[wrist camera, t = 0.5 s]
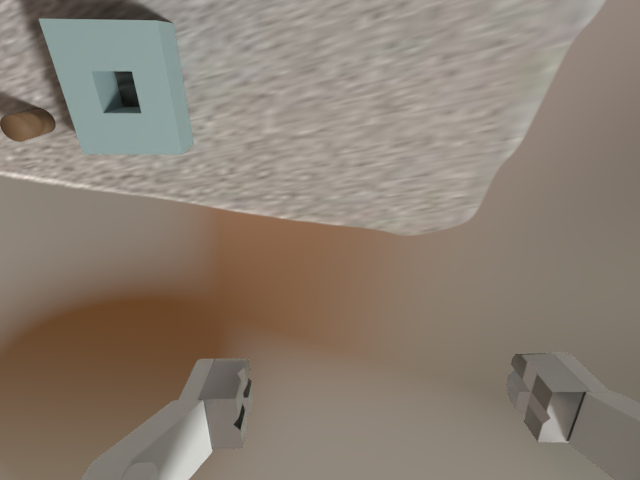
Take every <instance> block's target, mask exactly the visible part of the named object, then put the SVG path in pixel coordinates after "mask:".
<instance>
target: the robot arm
mask: <svg viewBox="0 0 640 480" xmlns="http://www.w3.org/2000/svg"><path fill="white" fill-rule="evenodd" d="M511 365H512V367H513V368H514V371H513V372H512V373H511V374H510V375H508V379H507V392H508V396H509V398H510V401H511V403H512V404H513V406H514V407H515V408H516V409H517V410H518V411H520V412H521V413H523V414H524V415H525V418H524V422H525V424H526V425H527V427H528V428H529V430H530V431H531V433H532V434H533V436H534V437H535V439H536V440H537V442H569V443H568V444H569V445H570V446H572V447H573V448H574V449H576V450H577V451H578V452H580V453H581V454H582V455H583V456H585V457H586V458H587V459H588V460H590V461H591V462H592V463H594V464H595V465H596V466H597V467H599V468H600V469H601V470H603V471H604V472H605V473H606V474H608V475H609V476H610V477H612V478H613V479H614V480H640V404H639V403H637V402H635V401H633V400H631V399H629V398H627V397H625V396H623V395H621V394H619V393H617V392H610V391H609V390H607V389H606V388H605V387H604V386H603V385H602V384H601V383H600V382H599V381H598V380H597V379H596V378H595V377H594V376H593V375H592V374H591V373H590V372H589V371H588V370H587V369H586V368H585V367H584V366H583V365H582V364H580V363H579V362H578V361H577V360H576V359H575V358H574V357H573V356H572V355H571V354H569V353H567V352H551V353H526V354H515V355H514V356H513V358H512V362H511ZM250 370H251V368H250V361H249V360H248V359H199V360H198V361H197V362H196V364H195V366H194V368H193V370H192V372H191V375H190V377H189V379H188V381H187V383H186V385H185V387H184V389H183V392H182V394H181V396H180V398H179V400H178V401H172V402H171V403H169V404H168V405H167V406H166V407H164V408H163V409H162V410H160V411H159V412H158V413H156V414H155V415H154V416H152V417H151V418H150V419H148V420H147V421H146V422H145V423H143V424H142V425H141V426H139V427H138V428H136V429H135V430H134V431H132V432H131V433H130V434H129V435H127V436H126V437H125V438H123V439H122V440H121V441H119V442H118V443H117V444H115V445H114V446H113V447H112V448H110V449H109V450H107V451H106V452H105V453H104V454H102V455H101V456H99V457H98V458H97V459H96V460H94V461H93V462H92V463H91V465H90V466H89V468H88V469H87V471H86V473H85V474H84V476H83V477H82V479H81V480H189V479H190V477H191V476H192V475H193V473H194V472H195V471H196V470H197V469H198V468H199V467H200V466H201V464H202V463H203V462H204V461H205V460H206V458H207V457H208V456H209V455H210V454H211V452H212V450H216V449H235V448H243V444H244V439H245V435H246V430H247V421H246V417H247V416H248V415H249V414H250V412H251V407H252V397H253V387H252V381H251V380H250V379H249V374H250Z"/></svg>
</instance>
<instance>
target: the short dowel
mask: <svg viewBox="0 0 640 480" xmlns="http://www.w3.org/2000/svg"><path fill="white" fill-rule="evenodd" d="M0 126H1V129H2V131H3V132H4V134H5V135H6V136H7V137H9V138H10V139H12V140H14V141H25V140H28V139H31V138H34V137H37V136H40V135H43V134H46V133H49V132H52V131H53V130H54V129H55V120H54V118H53V116H52V115H51V114H50V113H49V112H47V111H46V110H44V109H33V110H28V111H24V112H20V113H15V114H11V115H6V116H4V117H2V119H1V121H0Z"/></svg>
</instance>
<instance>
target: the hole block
mask: <svg viewBox="0 0 640 480" xmlns="http://www.w3.org/2000/svg"><path fill="white" fill-rule="evenodd" d="M39 22H40V25H41V28H42V31H43V34H44V37H45V40H46V43H47V46H48V49H49V52H50V55H51V58H52V61H53V64H54V67H55V70H56V73H57V76H58V79H59V82H60V85H61V88H62V91H63V94H64V97H65V100H66V103H67V106H68V110H69V113H70V116H71V119H72V122H73V125H74V128H75V131H76V134H77V137H78V140H79V143H80V146H81V149H82V152H83V154H183V153H184V152H186V151H187V150H188V149H189V148H190V147H192V146H193V145H194V142H193V136H192V130H191V124H190V118H189V112H188V106H187V100H186V95H185V89H184V83H183V77H182V71H181V65H180V59H179V53H178V47H177V41H176V35H175V29H174V23H169V22H163V21H158V20H100V19H39ZM114 71H132V75H133V79H134V83H135V88H136V92H137V96H138V100H139V105H140V107H123V104H122V100H121V96H120V92H119V88H118V84H117V80H116V76H115V72H114Z"/></svg>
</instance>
